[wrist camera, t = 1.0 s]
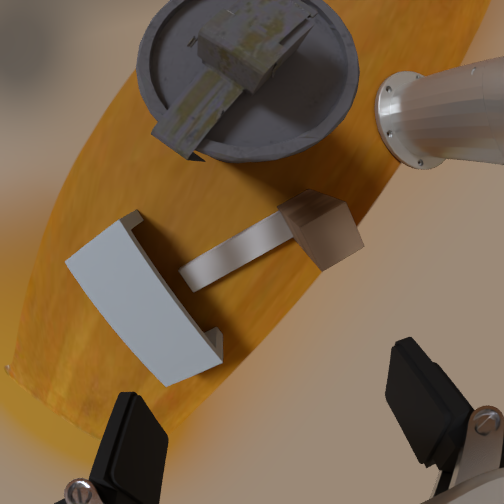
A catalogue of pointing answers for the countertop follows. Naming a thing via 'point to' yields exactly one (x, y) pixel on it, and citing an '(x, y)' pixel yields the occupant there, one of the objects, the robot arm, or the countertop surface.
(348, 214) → the pusher
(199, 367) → the shelf
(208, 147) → the canister
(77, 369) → the countertop surface
